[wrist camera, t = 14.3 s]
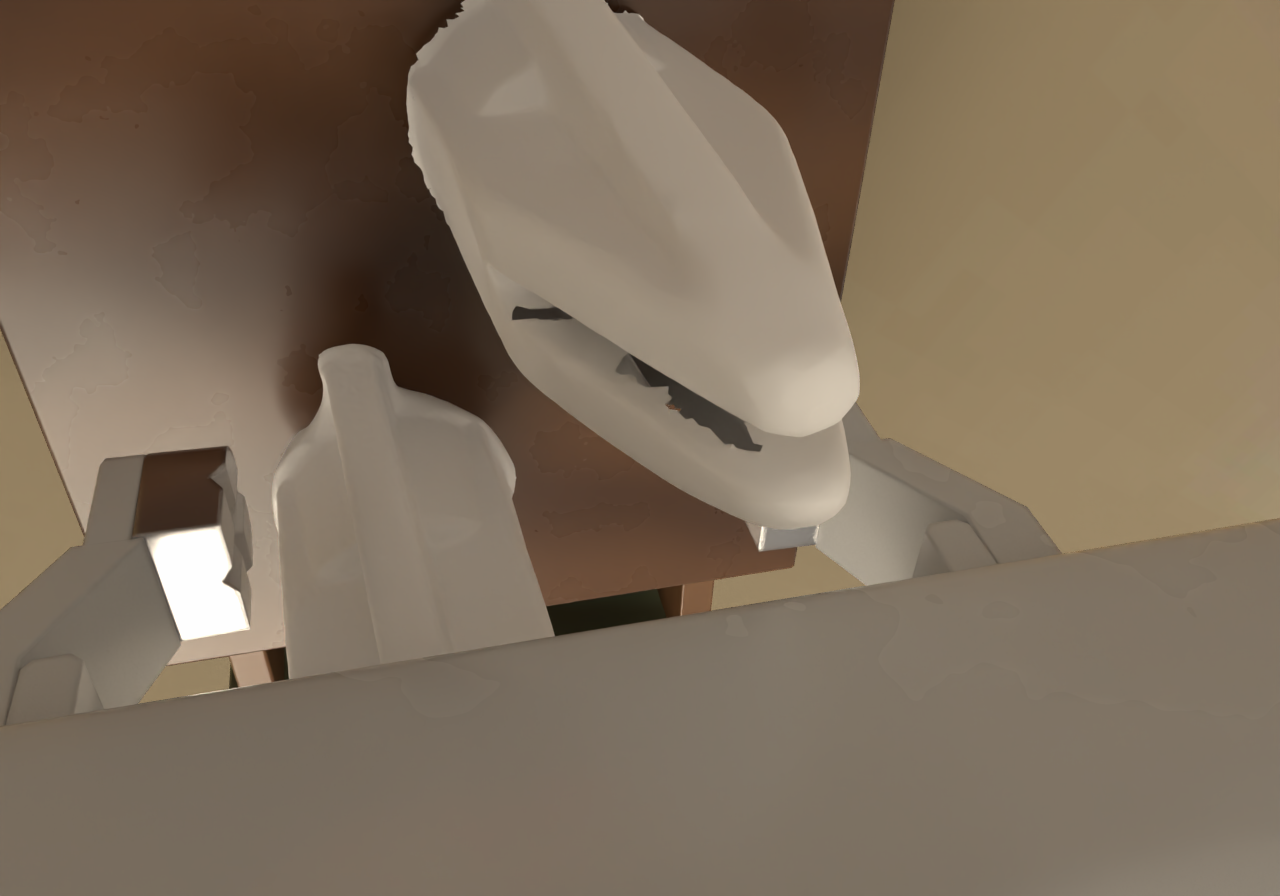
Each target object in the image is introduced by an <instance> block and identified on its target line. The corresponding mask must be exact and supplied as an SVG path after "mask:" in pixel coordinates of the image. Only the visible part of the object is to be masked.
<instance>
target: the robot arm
mask: <svg viewBox="0 0 1280 896" xmlns="http://www.w3.org/2000/svg"><path fill="white" fill-rule="evenodd" d="M842 422H843V426H844V431H845V436H846V442H847V448H848V454H849V461H850V470H851V478H850V488H849V493H848V497H847V500H846V503H845V505H844V506H843V507H842V509H841V510H840V511H839V512H838V513H837V514H836V515H835V516H834V517H832V518H831V519H829V520H827V521H825V522H824V523H822V524H820V525H816V526H810V527H804V528H797V529H788V530H777V529H772V528H767V527H763V526H759V525H756V524H752V523H749V522H747V521H745V523H746V525H747V527H748V529H749V532H750V534H751V536H752V538H753V540H754V542H755V544H756V546H757V549H758V551H759V552H761V551H769V550H777V549H785V548H793V547H801V546H809V545H816V548H817V549H819V550H820V551H821V552H823V553H824V554H825V555H827V556H828V557H829V558H831V559H832V560H833V561H835V562H836V563H837V564H839V565H840V566H841V567H843V568H844V569H845V570H847V571H848V572H849V573H850V574H852V575H853V576H854V577H856V578H857V579H858V580H860V581H861V582H862V583H864V584H865V585H866V586H861V587H854V588H848V589H842V590H836V591H830V592H824V593H818V594H811V595H805V596H799V597H793V598H787V599H781V600H774V601H768V602H762V603H756V604H750V605H744V606H738V607H731V608H725V609H719V610H713V611H707V612H701V613H694V614H688V615H682V616H676V617H670V618H664V619H658V620H651V621H645V622H639V623H633V624H627V625H621V626H615V627H609V628H602V629H596V630H590V631H584V632H578V633H572V634H565V635H559V636H553V637H547V638H541V639H535V640H528V641H522V642H516V643H510V644H504V645H498V646H491V647H485V648H479V649H473V650H467V651H461V652H455V653H448V654H442V655H436V656H430V657H424V658H418V659H411V660H405V661H399V662H393V663H387V664H381V665H374V666H368V667H362V668H356V669H350V670H344V671H337V672H331V673H325V674H319V675H313V676H307V677H300V678H294V679H288V680H282V681H276V682H270V683H263V684H257V685H251V686H245V687H239V688H233V689H226V690H220V691H214V692H208V693H202V694H196V695H189V696H183V697H177V698H171V699H165V700H159V701H152V702H146V703H140V704H138V703H139V702H140V700H141V699H142V698H143V696H144V695H145V694H146V692H147V691H148V690H149V688H150V687H151V685H152V684H153V683H154V681H155V680H156V679H157V677H158V676H159V675H160V673H161V672H162V670H163V669H164V668H165V666H166V665H167V664H168V662H169V661H170V660H171V658H172V657H173V656H174V654H175V653H176V651H177V650H178V649H179V647H180V646H181V643H180V642H181V641H186V640H192V639H197V638H203V637H209V636H214V635H220V634H226V633H231V632H237V631H242V630H248V629H250V621H251V599H252V590H251V586H250V582H249V578H248V575H247V572H248V571H249V569H250V568H251V567H252V566H253V542H252V530H251V523H250V518H249V512H248V508H247V504H246V500H245V496H244V495H242V494H241V493H239V492H238V491H237V477H238V469H237V466H236V462H235V459H234V455H233V452H232V450H231V448H230V447H229V446H220V447H210V448H200V449H189V450H179V451H169V452H159V453H149V454H147V455H144V454H142V455H133V456H123V457H114V458H105V460H104V461H103V462H102V463H101V465H100V466H99V470H98V475H97V480H96V484H95V489H94V494H93V499H92V504H91V508H90V513H89V518H88V523H87V528H86V532H85V537H84V542H83V546H76V547H71V548H69V549H68V550H67V551H66V552H65V553H64V554H63V555H62V556H60V557H59V558H58V559H57V560H56V561H55V562H54V563H53V564H51V565H50V566H49V567H48V568H47V569H46V570H45V571H44V572H42V573H41V574H40V575H39V576H38V577H37V578H36V579H35V580H33V581H32V582H31V583H30V584H29V585H28V586H27V587H26V588H25V589H23V590H22V591H21V592H20V593H19V594H18V595H17V596H16V597H14V598H13V599H12V600H11V601H10V602H9V603H8V604H7V605H5V606H4V607H3V608H2V609H1V610H0V896H1280V518H1277V519H1271V520H1265V521H1259V522H1253V523H1247V524H1241V525H1235V526H1229V527H1223V528H1217V529H1211V530H1205V531H1199V532H1193V533H1186V534H1180V535H1174V536H1168V537H1162V538H1156V539H1150V540H1143V541H1137V542H1131V543H1125V544H1119V545H1113V546H1107V547H1100V548H1094V549H1088V550H1082V551H1076V552H1070V553H1063V554H1062V553H1061V552H1060V550H1059V549H1058V548H1057V546H1056V545H1055V544H1054V542H1053V541H1052V540H1051V538H1050V537H1049V536H1048V534H1047V533H1046V532H1045V530H1044V529H1043V528H1042V526H1041V525H1040V524H1039V522H1038V521H1037V520H1036V518H1035V517H1034V516H1033V514H1032V513H1031V512H1030V510H1029V509H1028V508H1027V507H1026V506H1024V505H1022V504H1020V503H1018V502H1016V501H1014V500H1012V499H1010V498H1008V497H1006V496H1004V495H1002V494H1000V493H998V492H996V491H994V490H992V489H990V488H988V487H986V486H984V485H982V484H980V483H978V482H976V481H974V480H972V479H970V478H968V477H966V476H964V475H962V474H960V473H958V472H956V471H954V470H952V469H950V468H948V467H946V466H944V465H942V464H940V463H938V462H936V461H934V460H932V459H930V458H928V457H926V456H924V455H922V454H920V453H918V452H916V451H914V450H912V449H910V448H908V447H906V446H904V445H902V444H900V443H898V442H896V441H894V440H892V439H890V438H888V439H880V438H879V436H878V435H877V433H876V432H875V430H874V429H873V427H872V426H871V424H870V423H869V421H868V420H867V418H866V417H865V415H864V413H863V412H862V410H861V409H860V407H859V406H858V404H857V403H856V402H855V403H854V405H853V406H852V407H851V409H850V410H849V411H848V412H847V413H846V415H845V416H844V417H843V418H842Z"/></svg>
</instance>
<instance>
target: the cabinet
mask: <svg viewBox="0 0 1280 896" xmlns="http://www.w3.org/2000/svg"><path fill="white" fill-rule="evenodd" d="M463 1H464V0H0V329H1V332H2V334H3V337H4V339H5V342H6V344H7V346H8V349H9V351H10V354H11V356H12V359H13V361H14V364H15V366H16V369H17V371H18V374H19V376H20V379H21V381H22V384H23V386H24V389H25V391H26V394H27V396H28V399H29V401H30V403H31V406H32V408H33V411H34V413H35V416H36V418H37V421H38V423H39V426H40V428H41V431H42V433H43V436H44V438H45V441H46V443H47V446H48V448H49V451H50V453H51V456H52V458H53V460H54V463H55V465H56V468H57V470H58V473H59V475H60V478H61V480H62V483H63V485H64V488H65V490H66V493H67V495H68V498H69V500H70V503H71V505H72V508H73V510H74V513H75V515H76V518H77V520H78V522H79V525H80V527H81V530H82V532H83V535H84V537H85V532H86V528H87V523H88V518H89V513H90V508H91V504H92V499H93V494H94V489H95V484H96V480H97V475H98V470H99V466H100V465H101V463H102V462H103V461H104V460H105V458H114V457H123V456H133V455H142V454H144V455H147V454H149V453H159V452H169V451H179V450H189V449H200V448H210V447H220V446H229V447H230V448H231V450H232V452H233V455H234V459H235V462H236V466H237V469H238V477H237V491H238V492H239V493H241V494H242V495H244V496H245V500H246V504H247V508H248V512H249V518H250V523H251V530H252V542H253V566H252V567H251V568H250V569H249V571H248V572H247V575H248V578H249V582H250V586H251V590H252V599H251V621H250V629H248V630H242V631H237V632H231V633H226V634H220V635H214V636H209V637H203V638H197V639H192V640H186V641H181V642H180V643H181V646H180V647H179V649H178V650H177V651H176V653H175V654H174V656H173V657H172V658H171V660H170V661H169V662H168V664H167V665H166V666H170V665H177V664H183V663H189V662H196V661H202V660H208V659H215V658H221V657H228V656H234V655H240V654H247V653H253V652H259V651H266V650H272V649H278V648H285V647H286V639H285V624H284V615H283V595H282V584H281V569H280V555H279V533H278V530H277V527H276V524H275V519H274V514H273V505H272V486H273V479H274V474H275V471H276V469H277V466H278V464H279V462H280V461H281V459H282V457H283V455H284V453H285V451H286V449H287V447H288V445H289V444H290V442H291V440H292V439H293V438H294V436H295V435H296V434H297V433H298V432H299V431H301V430H302V429H304V428H306V427H308V426H309V425H310V423H311V422H312V420H313V419H314V417H315V415H316V414H317V412H318V410H319V407H320V405H321V402H322V397H323V383H322V379H321V376H320V373H319V369H318V359H319V354H321V353H322V352H323V351H324V350H327V349H329V348H332V347H336V346H341V345H346V344H361V345H367V346H371V347H374V348H376V349H378V350H380V351H382V352H383V353H384V355H385V356H386V358H387V360H388V362H389V366H390V371H391V374H392V377H393V380H394V382H395V384H396V385H397V386H398V387H401V388H404V389H408V390H412V391H416V392H420V393H425V394H427V395H431V396H434V397H436V398H438V399H441V400H444V401H447V402H449V403H451V404H453V405H455V406H457V407H459V408H461V409H463V410H465V411H468V412H470V413H472V414H473V415H475V416H477V417H479V418H480V419H482V420H483V421H484V422H485V423H486V424H487V425H488V426H489V427H490V428H491V429H492V430H493V432H494V433H495V434H496V435H497V437H498V438H499V439H500V441H501V442H502V444H503V446H504V447H505V449H506V451H507V453H508V454H509V456H510V458H511V460H512V462H513V464H514V467H515V474H516V482H515V490H514V493H513V496H512V500H513V504H514V507H515V510H516V514H517V517H518V521H519V524H520V527H521V531H522V535H523V538H524V541H525V545H526V549H527V552H528V555H529V557H530V560H531V563H532V566H533V569H534V572H535V575H536V578H537V581H538V584H539V587H540V590H541V593H542V596H543V599H544V602H545V605H546V606H552V605H558V604H564V603H571V602H577V601H584V600H590V599H596V598H603V597H609V596H615V595H622V594H628V593H634V592H641V591H647V590H653V589H660V588H666V587H673V586H679V585H685V584H692V583H698V582H704V581H711V580H717V579H723V578H730V577H736V576H742V575H749V574H755V573H762V572H768V571H774V570H781V569H787V568H792V567H793V566H794V563H795V557H796V552H797V547H793V548H785V549H777V550H769V551H761V552H759V551H758V549H757V546H756V544H755V542H754V540H753V538H752V536H751V534H750V532H749V529H748V527H747V525H746V523H745V521H744V520H742V519H740V518H737V517H735V516H733V515H730V514H728V513H726V512H724V511H722V510H720V509H718V508H716V507H714V506H711V505H709V504H707V503H705V502H703V501H701V500H699V499H697V498H695V497H693V496H691V495H689V494H688V493H686V492H684V491H682V490H680V489H679V488H677V487H675V486H674V485H672V484H670V483H669V482H667V481H665V480H664V479H662V478H661V477H659V476H658V475H656V474H655V473H653V472H652V471H650V470H649V469H647V468H646V467H644V466H643V465H641V464H640V463H638V462H637V461H635V460H634V459H632V458H631V457H629V456H628V455H626V454H625V453H623V452H622V451H620V450H619V449H617V448H616V447H615V446H613V445H612V444H610V443H609V442H607V441H606V440H605V439H603V438H602V437H600V436H599V435H598V434H596V433H595V432H594V431H592V430H591V429H589V428H588V427H587V426H585V425H584V424H583V423H581V422H580V421H579V420H577V419H576V418H574V417H573V416H572V415H570V414H569V413H568V412H567V411H565V410H564V409H563V408H562V407H560V406H559V405H558V404H557V403H555V402H554V401H553V400H551V399H550V398H549V397H547V396H546V395H545V394H543V393H542V392H541V391H540V390H539V389H538V388H536V387H535V386H534V385H533V384H532V383H531V382H530V381H529V380H528V379H527V378H526V377H525V376H524V375H523V374H522V373H521V372H520V371H519V369H518V368H517V367H516V365H515V364H514V362H513V361H512V359H511V358H510V356H509V355H508V353H507V351H506V349H505V347H504V345H503V342H502V340H501V338H500V336H499V335H498V333H497V330H496V328H495V326H494V324H493V322H492V320H491V317H490V315H489V313H488V312H487V310H486V308H485V306H484V303H483V301H482V299H481V296H480V294H479V292H478V290H477V288H476V286H475V284H474V281H473V279H472V277H471V274H470V272H469V270H468V268H467V266H466V263H465V261H464V259H463V257H462V254H461V252H460V250H459V247H458V245H457V243H456V240H455V238H454V236H453V234H452V231H451V229H450V226H449V225H448V224H447V223H446V220H445V216H444V213H443V212H444V211H442V210H440V209H439V207H438V206H437V204H436V199H435V198H434V197H433V196H431V193H430V190H429V189H427V186H426V184H425V182H424V176H423V172H422V170H421V168H420V167H419V166H418V165H417V164H416V163H415V162H414V158H413V156H412V155H411V154H412V150H413V147H412V146H411V144H410V143H409V137H408V131H409V123H408V114H407V105H406V99H407V85H408V74H409V71H410V68H411V66H412V65H414V64H415V63H416V62H417V61H418V58H417V55H416V53H417V52H418V51H420V50H421V49H422V47H423V46H424V45H425V44H427V43H428V42H430V41H431V40H432V39H433V37H434V36H435V34H436V33H437V32H438V28H439V27H440V28H446V27H448V23H447V20H446V19H455V18H457V17H459V16H458V15H457V14H456V13H460V12H463V11H464V10H463V9H461V8H463V6H462V5H461V3H462V2H463ZM894 1H895V0H605V2H606V3H608V6H609V7H610V9H611V10H612V11H613V12H614V13H623V12H624V11H625V10H626V11H627V12H628V13H635V14H639V15H640V16H641V17H643V18H644V21H645V22H646V23H647V24H648V25H650V26H651V27H653V28H654V29H655V30H657V31H658V32H660V33H661V34H663V35H665V36H666V37H668V38H669V39H671V40H672V41H674V42H675V43H676V44H678V45H679V46H681V47H682V48H684V49H685V50H687V51H688V52H689V53H691V54H692V55H694V56H695V57H696V58H698V59H699V60H700V61H702V62H704V63H705V64H706V65H707V66H709V67H710V68H711V69H713V70H714V71H716V72H717V73H719V74H720V75H722V76H723V77H725V78H726V79H728V80H729V81H730V82H731V83H733V84H734V85H735V86H737V87H739V88H740V89H741V90H743V91H744V92H745V93H747V94H748V95H749V96H750V97H752V98H753V99H754V100H755V101H756V102H757V103H759V104H760V105H761V106H763V107H764V108H765V109H766V110H767V111H768V112H769V113H770V114H771V115H772V116H773V117H774V118H775V120H776V121H777V122H778V124H779V125H780V126H781V128H782V130H783V131H784V133H785V135H786V137H787V139H788V141H789V144H790V147H791V150H792V152H793V154H794V157H795V159H796V162H797V165H798V168H799V171H800V174H801V177H802V180H803V183H804V186H805V189H806V192H807V194H808V197H809V200H810V203H811V206H812V208H813V211H814V214H815V217H816V221H817V225H818V228H819V232H820V235H821V239H822V242H823V245H824V249H825V252H826V255H827V259H828V262H829V265H830V269H831V272H832V276H833V279H834V283H835V286H836V290H837V293H838V296H839V299H840V302H841V299H842V293H843V288H844V282H845V276H846V271H847V265H848V260H849V254H850V248H851V243H852V237H853V231H854V226H855V220H856V215H857V209H858V203H859V198H860V192H861V186H862V181H863V175H864V170H865V164H866V158H867V153H868V147H869V142H870V136H871V130H872V125H873V119H874V113H875V108H876V102H877V97H878V91H879V85H880V80H881V74H882V69H883V63H884V57H885V52H886V46H887V40H888V35H889V29H890V24H891V18H892V12H893V7H894ZM430 189H431V188H430ZM665 405H666V406H667V407H668V408H669V407H670V408H669V409H672V410H677V411H680V410H681V408H679V409H674V408H675V406H674V404H673V405H669V406H668V404H665Z"/></svg>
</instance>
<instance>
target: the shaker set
mask: <svg viewBox="0 0 1280 896" xmlns="http://www.w3.org/2000/svg"><path fill="white" fill-rule="evenodd" d="M461 5H462V6H463V8H461V9H463V10H464V11H463V12H460V13H456V14H457V15H458V16H459V17H457V18H455V19H446V20H447V23H448V27H446V28H440V27H439V28H438V32H437V33H436V34H435V36H434V37H433V39H432V40H431V41H430V42H428V43H427V44H425V45H424V46H423V47H422V49H421V50H420V51H418V52H417V53H416V55H417V58H418V61H417V62H416V63H415V64H414V65H412V66H411V68H410V71H409V74H408V85H407V99H406V105H407V114H408V123H409V131H408V137H409V143H410V144H411V146H412V147H413V150H412V154H411V155H412V156H413V158H414V162H415V163H416V164H417V165H418V166H419V167H420V168H421V170H422V172H423V176H424V182H425V184H426V186H427V189H429V190H430V193H431V196H433V197H434V198H435V199H436V204H437V206H438V207H439V209H440V210H442V211H444V212H443V213H444V216H445V220H446V223H447V224H448V225H449V226H450V229H451V231H452V234H453V236H454V238H455V240H456V243H457V245H458V247H459V250H460V252H461V254H462V257H463V259H464V261H465V263H466V266H467V268H468V270H469V272H470V274H471V277H472V279H473V281H474V284H475V286H476V288H477V290H478V292H479V294H480V296H481V299H482V301H483V303H484V306H485V308H486V310H487V312H488V313H489V315H490V317H491V320H492V322H493V324H494V326H495V328H496V330H497V333H498V335H499V336H500V338H501V340H502V342H503V345H504V347H505V349H506V351H507V353H508V355H509V356H510V358H511V359H512V361H513V362H514V364H515V365H516V367H517V368H518V369H519V371H520V372H521V373H522V374H523V375H524V376H525V377H526V378H527V379H528V380H529V381H530V382H531V383H532V384H533V385H534V386H535V387H536V388H538V389H539V390H540V391H541V392H542V393H543V394H545V395H546V396H547V397H549V398H550V399H551V400H553V401H554V402H555V403H557V404H558V405H559V406H560V407H562V408H563V409H564V410H565V411H567V412H568V413H569V414H570V415H572V416H573V417H574V418H576V419H577V420H579V421H580V422H581V423H583V424H584V425H585V426H587V427H588V428H589V429H591V430H592V431H594V432H595V433H596V434H598V435H599V436H600V437H602V438H603V439H605V440H606V441H607V442H609V443H610V444H612V445H613V446H615V447H616V448H617V449H619V450H620V451H622V452H623V453H625V454H626V455H628V456H629V457H631V458H632V459H634V460H635V461H637V462H638V463H640V464H641V465H643V466H644V467H646V468H647V469H649V470H650V471H652V472H653V473H655V474H656V475H658V476H659V477H661V478H662V479H664V480H665V481H667V482H669V483H670V484H672V485H674V486H675V487H677V488H679V489H680V490H682V491H684V492H686V493H688V494H689V495H691V496H693V497H695V498H697V499H699V500H701V501H703V502H705V503H707V504H709V505H711V506H714V507H716V508H718V509H720V510H722V511H724V512H726V513H728V514H730V515H733V516H735V517H737V518H740V519H742V520H744V521H747V522H749V523H752V524H756V525H759V526H763V527H767V528H772V529H777V530H788V529H797V528H804V527H810V526H816V525H820V524H822V523H824V522H825V521H827V520H829V519H831V518H832V517H834V516H835V515H836V514H837V513H838V512H839V511H840V510H841V509H842V507H843V506H844V505H845V503H846V500H847V497H848V493H849V488H850V478H851V470H850V461H849V454H848V448H847V442H846V436H845V431H844V426H843V422H842V418H843V417H844V416H845V415H846V413H847V412H848V411H849V410H850V409H851V407H852V406H853V405H854V403H855V402H856V400H857V398H858V396H859V389H860V375H859V368H858V363H857V357H856V353H855V349H854V344H853V340H852V337H851V333H850V330H849V327H848V324H847V320H846V317H845V314H844V311H843V308H842V305H841V302H840V299H839V296H838V293H837V290H836V286H835V283H834V279H833V276H832V272H831V269H830V265H829V262H828V259H827V255H826V252H825V249H824V245H823V242H822V239H821V235H820V232H819V228H818V225H817V221H816V217H815V214H814V211H813V208H812V206H811V203H810V200H809V197H808V194H807V192H806V189H805V186H804V183H803V180H802V177H801V174H800V171H799V168H798V165H797V162H796V159H795V157H794V154H793V152H792V150H791V147H790V144H789V141H788V139H787V137H786V135H785V133H784V131H783V130H782V128H781V126H780V125H779V124H778V122H777V121H776V120H775V118H774V117H773V116H772V115H771V114H770V113H769V112H768V111H767V110H766V109H765V108H764V107H763V106H761V105H760V104H759V103H757V102H756V101H755V100H754V99H753V98H752V97H750V96H749V95H748V94H747V93H745V92H744V91H743V90H741V89H740V88H739V87H737V86H735V85H734V84H733V83H731V82H730V81H729V80H728V79H726V78H725V77H723V76H722V75H720V74H719V73H717V72H716V71H714V70H713V69H711V68H710V67H709V66H707V65H706V64H705V63H704V62H702V61H700V60H699V59H698V58H696V57H695V56H694V55H692V54H691V53H689V52H688V51H687V50H685V49H684V48H682V47H681V46H679V45H678V44H676V43H675V42H674V41H672V40H671V39H669V38H668V37H666V36H665V35H663V34H661V33H660V32H658V31H657V30H655V29H654V28H653V27H651V26H650V25H648V24H647V23H646V22H645V21H644V18H643V17H641V16H640V15H639V14H635V13H628V12H627V11H626V10H625V11H624V12H623V13H614V12H613V11H612V10H611V9H610V7H609V6H608V3H606V2H605V0H464V1H463V2H462V3H461ZM430 188H431V189H430ZM318 369H319V373H320V376H321V379H322V383H323V397H322V402H321V405H320V407H319V410H318V412H317V414H316V415H315V417H314V419H313V420H312V422H311V423H310V425H309V426H308V427H306V428H304V429H302V430H301V431H299V432H298V433H297V434H296V435H295V436H294V438H293V439H292V440H291V442H290V444H289V445H288V447H287V449H286V451H285V453H284V455H283V457H282V459H281V461H280V462H279V464H278V466H277V469H276V471H275V474H274V479H273V486H272V505H273V514H274V519H275V524H276V527H277V530H278V533H279V555H280V569H281V584H282V595H283V615H284V624H285V639H286V654H287V662H288V674H289V679H294V678H300V677H307V676H313V675H319V674H325V673H331V672H337V671H344V670H350V669H356V668H362V667H368V666H374V665H381V664H387V663H393V662H399V661H405V660H411V659H418V658H424V657H430V656H436V655H442V654H448V653H455V652H461V651H467V650H473V649H479V648H485V647H491V646H498V645H504V644H510V643H516V642H522V641H528V640H535V639H541V638H547V637H553V636H555V635H554V631H553V628H552V624H551V621H550V618H549V615H548V611H547V608H546V605H545V602H544V599H543V596H542V593H541V590H540V587H539V584H538V581H537V578H536V575H535V572H534V569H533V566H532V563H531V560H530V557H529V555H528V552H527V549H526V545H525V541H524V538H523V535H522V531H521V527H520V524H519V521H518V517H517V514H516V510H515V507H514V504H513V500H512V496H513V493H514V490H515V482H516V474H515V467H514V464H513V462H512V460H511V458H510V456H509V454H508V453H507V451H506V449H505V447H504V446H503V444H502V442H501V441H500V439H499V438H498V437H497V435H496V434H495V433H494V432H493V430H492V429H491V428H490V427H489V426H488V425H487V424H486V423H485V422H484V421H483V420H482V419H480V418H479V417H477V416H475V415H473V414H472V413H470V412H468V411H465V410H463V409H461V408H459V407H457V406H455V405H453V404H451V403H449V402H447V401H444V400H441V399H438V398H436V397H434V396H431V395H427V394H425V393H420V392H416V391H412V390H408V389H404V388H401V387H398V386H397V385H396V384H395V382H394V380H393V377H392V374H391V371H390V366H389V362H388V360H387V358H386V356H385V355H384V353H383V352H382V351H380V350H378V349H376V348H374V347H371V346H367V345H361V344H346V345H341V346H336V347H332V348H329V349H327V350H324V351H323V352H322V353H321V354H319V359H318ZM665 404H668V406H669V405H673V404H674V406H675V408H674V409H679V408H681V410H680V411H677V410H672V409H669V408H670V407H669V408H668V407H667V406H666V405H665Z"/></svg>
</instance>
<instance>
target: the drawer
mask: <svg viewBox="0 0 1280 896" xmlns="http://www.w3.org/2000/svg"><path fill="white" fill-rule="evenodd" d="M713 587H714V580H711V581H704V582H698V583H692V584H685V585H679V586H673V587H666V588H660V589H653V590H647V591H641V592H634V593H628V594H622V595H615V596H609V597H603V598H596V599H590V600H584V601H577V602H571V603H564V604H558V605H552V606H546V608H547V611H548V615H549V618H550V621H551V624H552V628H553V631H554V635H555V636H559V635H565V634H572V633H578V632H584V631H590V630H596V629H602V628H609V627H615V626H621V625H627V624H633V623H639V622H645V621H651V620H658V619H664V618H670V617H676V616H682V615H688V614H694V613H701V612H707V611H711V604H712V596H713ZM229 660H230V682H229V689H233V688H239V687H245V686H251V685H257V684H263V683H270V682H276V681H282V680H288V679H289V674H288V662H287V654H286V647H285V648H278V649H272V650H266V651H259V652H253V653H247V654H240V655H234V656H229Z"/></svg>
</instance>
